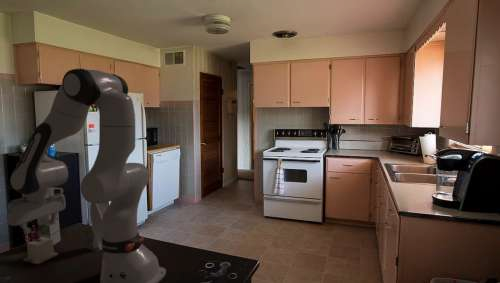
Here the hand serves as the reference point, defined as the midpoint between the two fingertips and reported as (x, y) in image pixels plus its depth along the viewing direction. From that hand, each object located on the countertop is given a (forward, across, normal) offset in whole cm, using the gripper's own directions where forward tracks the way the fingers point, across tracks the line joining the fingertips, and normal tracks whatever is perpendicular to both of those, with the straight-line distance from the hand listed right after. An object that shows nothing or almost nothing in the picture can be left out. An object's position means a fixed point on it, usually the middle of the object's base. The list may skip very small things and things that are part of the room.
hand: (40, 228), depth 115 cm
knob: (+11, 0, +1) cm, 11 cm away
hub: (+12, 0, +1) cm, 12 cm away
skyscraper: (+13, +16, -13) cm, 24 cm away
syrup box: (+12, +10, +10) cm, 18 cm away
